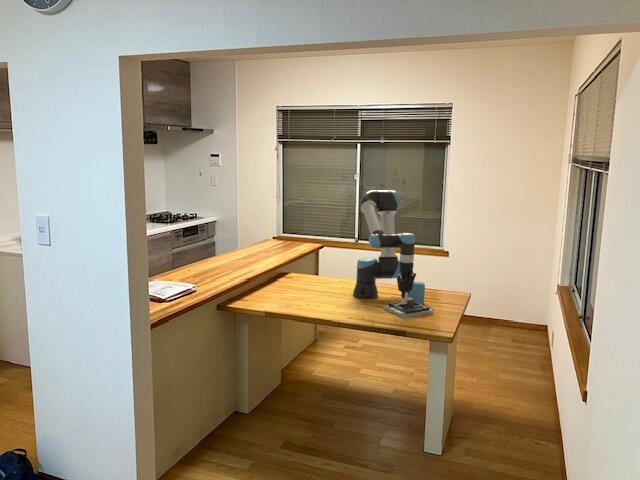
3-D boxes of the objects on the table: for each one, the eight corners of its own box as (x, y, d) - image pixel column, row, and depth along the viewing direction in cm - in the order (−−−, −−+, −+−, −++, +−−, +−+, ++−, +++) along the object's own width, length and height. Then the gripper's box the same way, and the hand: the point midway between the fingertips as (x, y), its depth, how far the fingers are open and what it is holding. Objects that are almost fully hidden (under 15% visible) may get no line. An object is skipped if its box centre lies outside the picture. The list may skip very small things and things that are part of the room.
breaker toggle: (402, 306, 297) (402, 297, 296) (408, 305, 299) (408, 296, 298) (408, 309, 293) (408, 299, 292) (413, 308, 295) (414, 298, 294)
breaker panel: (383, 309, 299) (384, 303, 298) (411, 304, 309) (411, 298, 308) (404, 318, 284) (404, 311, 283) (432, 313, 294) (433, 306, 293)
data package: (424, 302, 315) (425, 282, 313) (424, 304, 310) (425, 284, 308) (403, 300, 317) (404, 281, 315) (403, 302, 312) (404, 283, 310)
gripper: (401, 264, 284) (399, 306, 288) (420, 261, 290) (418, 303, 294) (392, 261, 290) (390, 303, 294) (411, 259, 297) (409, 300, 301)
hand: (404, 303), depth 294 cm, fingers closed
